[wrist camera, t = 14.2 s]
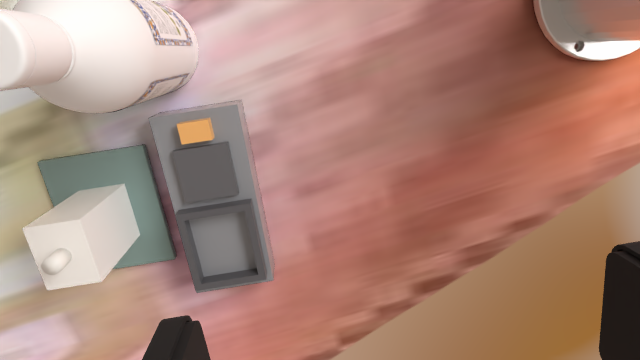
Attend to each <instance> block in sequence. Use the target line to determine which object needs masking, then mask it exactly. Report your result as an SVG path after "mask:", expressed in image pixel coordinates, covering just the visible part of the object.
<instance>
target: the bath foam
mask: <svg viewBox="0 0 640 360" xmlns="http://www.w3.org/2000/svg"><path fill="white" fill-rule="evenodd" d="M198 57H199V49H198V43H197V39H196V36H195V34H194V32H193V30H192V28H191V26H190V25H189V23H188V22H187V21H186V20H185V19H184V18H183V17H182V16H181V15H180V14H179V13H177V12H176V11H175V10H173V9H171V8H169V7H167V6H165V5H162V4H160V3H157V2H154V1H151V0H20V1H19V2H18V3H17V4H16V5H15V7H14V8H13V10H6V9H0V91H3V90H10V89H17V88H24V87H29V88H30V89H31V90H32V91H34V92H35V93H36V94H38V95H39V96H40V97H42V98H43V99H45V100H47V101H48V102H50V103H52V104H55V105H57V106H59V107H62V108H65V109H68V110H72V111H77V112H83V113H109V112H115V111H119V110H122V109H124V108H127V107H130V106H133V105H136V104H139V103H141V102H144V101H147V100H150V99H153V98H155V97H158V96H161V95H164V94H167V93H169V92H172V91H174V90H176V89H178V88H180V87H182V86H183V85H184V84H185V83H187V82H188V81H189V79H190V78H191V77H192V75H193V74H194V72H195V69H196V67H197V63H198Z"/></svg>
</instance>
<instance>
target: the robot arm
mask: <svg viewBox="0 0 640 360" xmlns="http://www.w3.org/2000/svg"><path fill="white" fill-rule="evenodd" d="M533 2H534V10H535V14H536V17H537V21H538V24H539V26H540V28H541V30H542V31H543V33H544V35H545V37H546V38H547V39H548V40H549V41H550V42H551V44H552V45H553V46H554V47H555V48H557V49H558V50H560V51H561V52H563V53H564V54H566V55H569V56H571V57H574V58H576V59H582V60H588V61H604V60H611V59H617V58H619V57H622V56H625V55H628V54H630V53H632V52H634V51H636V50H637V49H639V48H640V0H533ZM574 45H575V47H574ZM599 352H600V356H601V358H602V360H640V241H639V242H633V243H626V244H621V245H617V246H615V247H614V248H613V249H612V253H609V254H608V256H607V259H606V269H605V281H604V294H603V306H602V318H601V332H600V343H599ZM142 360H210V356H209V352H208V349H207V345H206V342H205V338H204V335H203V331H202V327H201V324H200V322H199V321H192V319H191V318H190V316H188V315H187V316H180V317H174V318H168V319H163V320H161V322H160V323H159V325H158V327H157V330H156V332H155V334H154V336H153V338H152V340H151V342H150V344H149V346H148V348H147V350H146V352H145V355H144V357H143V359H142Z"/></svg>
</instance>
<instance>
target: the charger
mask: <svg viewBox="0 0 640 360" xmlns="http://www.w3.org/2000/svg"><path fill="white" fill-rule="evenodd" d="M22 230H23V232H24V235H25V237H26V240H27V242H28V245H29V247H30V249H31V252H32V254H33V257H34V259H35V262H36V264H37V267H38V269H39V272H40V274H41V277H42V279H43V282H44V284H45V287H46V289H47V291H48V290H54V289H60V288H66V287H73V286H79V285H85V284H91V283H97V282H102V281H103V280H104V279H105V277H106V276H107V275H108V274H109V272H110V271H111V270H112V269H113V268H114V266H115V265H116V264H117V263H118V261H119V260H120V259H121V258H122V257H123V255H124V254H125V253H126V252H127V250H128V249H129V248H130V247H131V245H132V244H133V243H134V242H135V241H136V239H137V238H138V237H139V236H140V233H139V229H138V226H137V223H136V220H135V216H134V213H133V210H132V207H131V203H130V200H129V197H128V194H127V190H126V187H125V184H118V185H112V186H105V187H99V188H93V189H86V190H80V191H78V192H76V193H75V194H73V195H72V196H70V197H69V198H67V199H66V200H64V201H63V202H61V203H60V204H58V205H57V206H55V207H54V208H52V209H51V210H49V211H48V212H46V213H45V214H43V215H42V216H40V217H39V218H37V219H36V220H34V221H33V222H31V223H30V224H28V225H27V226H25V227H24V228H22Z"/></svg>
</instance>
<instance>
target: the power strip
mask: <svg viewBox="0 0 640 360" xmlns="http://www.w3.org/2000/svg"><path fill="white" fill-rule="evenodd" d="M149 122H150V125H151V129H152V132H153V136H154V140H155V143H156V147H157V151H158V154H159V158H160V161H161V165H162V169H163V172H164V176H165V180H166V183H167V187H168V191H169V194H170V198H171V201H172V205H173V209H174V212H175V217H176V221H177V225H178V228H179V232H180V236H181V239H182V243H183V246H184V250H185V254H186V257H187V261H188V265H189V268H190V272H191V275H192V279H193V283H194V286H195V290H196V292H197V293H200V292H206V291H212V290H218V289H224V288H230V287H237V286H243V285H249V284H255V283H261V282H267V281H273V280H274V267H275V263H274V258H273V253H272V248H271V243H270V238H269V233H268V228H267V223H266V218H265V213H264V208H263V203H262V198H261V193H260V188H259V183H258V179H257V174H256V169H255V164H254V159H253V154H252V149H251V144H250V139H249V134H248V129H247V124H246V119H245V114H244V109H243V104H242V100H237V101H231V102H224V103H218V104H211V105H205V106H198V107H192V108H185V109H179V110H172V111H166V112H160V113H158V114H156V115H154V116H152V117H150V118H149Z"/></svg>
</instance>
